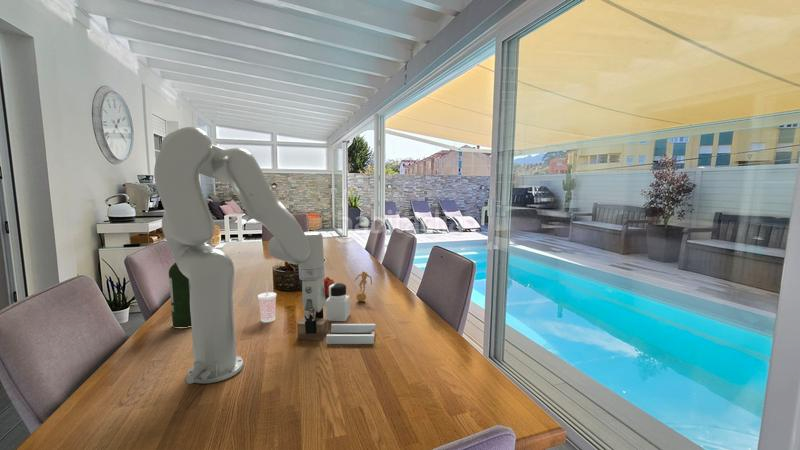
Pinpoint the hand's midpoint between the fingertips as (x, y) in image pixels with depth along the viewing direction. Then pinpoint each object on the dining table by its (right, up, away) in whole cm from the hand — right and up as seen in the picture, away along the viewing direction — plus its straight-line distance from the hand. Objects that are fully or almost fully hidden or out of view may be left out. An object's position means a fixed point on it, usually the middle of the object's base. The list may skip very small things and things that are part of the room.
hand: (315, 326), depth 111 cm
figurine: (+11, 0, +34) cm, 36 cm away
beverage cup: (-20, -2, +14) cm, 24 cm away
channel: (+11, -3, 0) cm, 12 cm away
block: (-1, -4, +1) cm, 4 cm away
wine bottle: (-46, -2, +10) cm, 47 cm away
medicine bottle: (+4, -2, +16) cm, 17 cm away
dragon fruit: (-6, +1, +42) cm, 43 cm away
